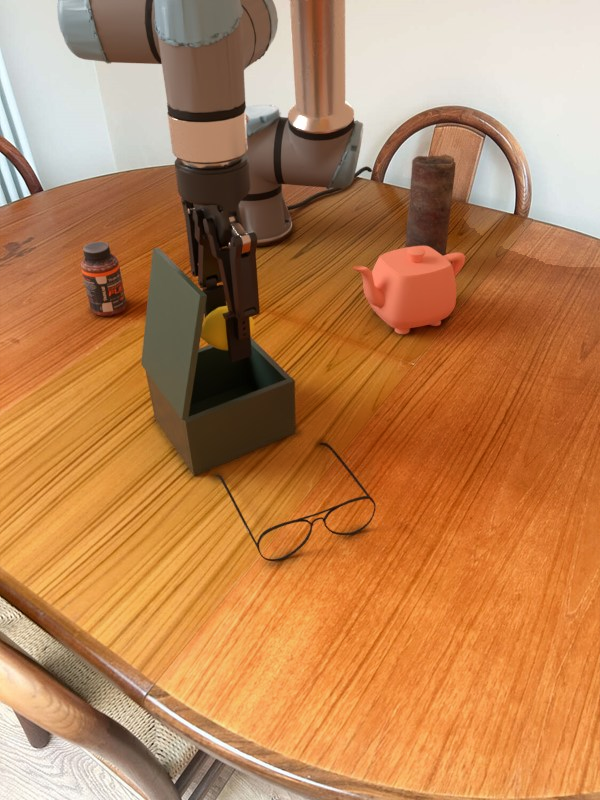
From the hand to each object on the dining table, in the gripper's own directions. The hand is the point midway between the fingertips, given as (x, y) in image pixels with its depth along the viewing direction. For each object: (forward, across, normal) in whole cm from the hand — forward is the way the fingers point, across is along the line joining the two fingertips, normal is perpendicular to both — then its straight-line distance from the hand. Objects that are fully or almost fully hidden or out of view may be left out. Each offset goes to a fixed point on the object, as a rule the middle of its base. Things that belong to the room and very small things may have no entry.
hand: (228, 345), depth 81 cm
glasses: (+12, -16, +1) cm, 21 cm away
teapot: (+12, +8, -35) cm, 38 cm away
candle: (+12, +20, -49) cm, 54 cm away
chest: (+12, 0, +2) cm, 12 cm away
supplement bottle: (+12, +36, +5) cm, 39 cm away
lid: (-4, -1, +7) cm, 8 cm away
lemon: (0, 0, 0) cm, 1 cm away
